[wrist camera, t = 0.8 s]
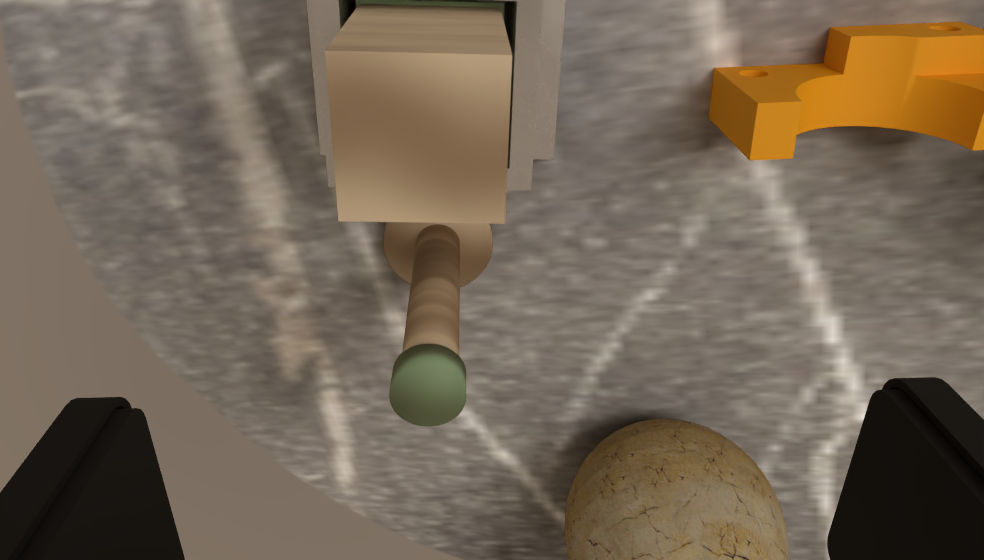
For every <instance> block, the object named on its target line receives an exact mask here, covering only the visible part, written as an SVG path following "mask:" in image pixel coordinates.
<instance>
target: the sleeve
mask: <svg viewBox="0 0 984 560" xmlns="http://www.w3.org/2000/svg"><path fill="white" fill-rule="evenodd" d="M306 1H307V12H308V23H309V34H310V46H311V57H312V68H313V79H314V91H315V102H316V113H317V124H318V136H319V147H320V155H326V167H327V179H328V187H336V184H335V172H334V159H333V147H332V134H331V122H330V109H329V97H328V84H327V72H326V59H325V50H326V48H327V47H328V46H329V44H330V43H331V42H332V40H333V39H334V38H335V36H336V35H337V33H338V32H339V31H340V29H341V28H342V27H343V25H344V24H345V23H346V21H347V20H348V19H349V17H350V16H351V15H352V13H353V12H354V11H355V9H356V0H306ZM496 1H504V24H505V28H506V32H507V36H508V40H509V44H510V48H511V52H512V74H511V97H510V120H509V142H508V165H507V188H506V190H531V185H532V169H533V159H548V160H553V159H554V146H555V133H556V120H557V107H558V94H559V81H560V68H561V55H562V42H563V29H564V16H565V3H566V0H496Z"/></svg>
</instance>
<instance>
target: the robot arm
mask: <svg viewBox="0 0 984 560" xmlns="http://www.w3.org/2000/svg"><path fill="white" fill-rule="evenodd" d="M827 541H828V553H829V557H830V560H984V420H983V419H982V418H981V417H980V416H979V415H978V414H977V413H976V412H975V411H974V410H973V409H972V408H971V407H970V406H969V405H968V404H967V403H966V402H965V401H964V400H963V399H962V398H961V397H960V396H959V395H958V394H957V393H956V392H955V391H954V390H953V389H952V388H951V387H950V386H949V385H948V384H947V383H946V382H945V381H943V380H942V379H939V378H935V377H929V378H894V379H891V380H888V381H887V382H886V383H885V384H884V386H883V388H882V390H878V391H875V392H874V393H873V394H872V397H871V399H870V401H869V405H868V408H867V411H866V414H865V418H864V421H863V424H862V427H861V431H860V434H859V437H858V440H857V444H856V447H855V450H854V453H853V457H852V460H851V463H850V466H849V469H848V473H847V476H846V479H845V482H844V486H843V489H842V492H841V495H840V499H839V502H838V505H837V508H836V512H835V515H834V518H833V521H832V525H831V528H830V531H829V534H828V540H827ZM0 560H185V559H184V554H183V551H182V547H181V543H180V540H179V536H178V532H177V529H176V525H175V522H174V518H173V514H172V511H171V507H170V504H169V500H168V497H167V493H166V489H165V485H164V482H163V478H162V475H161V471H160V468H159V464H158V460H157V457H156V454H155V450H154V446H153V442H152V439H151V435H150V431H149V428H148V424H147V420H146V417H145V415H144V413H143V411H142V410H141V409H137V408H134V409H132V408H131V406H130V403H129V402H128V401H127V400H126V399H125V398H122V397H106V398H76V399H74V400H71V401H70V402H69V403H68V404H67V405H66V406H65V407H64V409H63V410H62V411H61V413H60V414H59V415H58V417H57V418H56V419H55V421H54V422H53V423H52V425H51V426H50V427H49V429H48V430H47V431H46V433H45V434H44V435H43V437H42V438H41V439H40V441H39V442H38V443H37V444H36V446H35V447H34V449H33V450H32V451H31V453H30V454H29V455H28V457H27V458H26V459H25V460H24V462H23V463H22V465H21V466H20V467H19V468H18V470H17V471H16V473H15V474H14V475H13V476H12V478H11V479H10V481H9V482H8V483H7V484H6V486H5V487H4V488H3V490H2V491H1V492H0Z"/></svg>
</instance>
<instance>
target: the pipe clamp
mask: <svg viewBox="0 0 984 560" xmlns="http://www.w3.org/2000/svg"><path fill="white" fill-rule="evenodd" d="M709 119H710V120H711V121H712V122H713V123H714V124H715V125H716V126H717V127H718V128H719V129H720V130H721V131H722V132H723V133H724V134H725V135H726V136H727V137H728V138H729V139H730V141H731V142H732V143H733V144H734V145H735V146H736V147H737V148H738V149H739V150H740V151H741V152H742V153H743V154H744V155H745V156H746V157H747V158H748V159H749V160H768V159H790V158H793V153H794V148H795V142H796V136H797V135H798V134H800V133H803V132H806V131H810V130H814V129H819V128H827V127H837V126H870V127H884V128H893V129H900V130H907V131H913V132H918V133H923V134H927V135H931V136H935V137H939V138H942V139H946V140H949V141H952V142H954V143H957V144H960V145H962V146H964V147H966V148H968V149H970V150H984V29H981V28H978V27H974V26H971V25H968V24H965V23H962V22H943V23H919V24H895V25H872V26H848V27H830V30H829V36H828V41H827V46H826V52H825V57H824V62H823V63H817V64H794V65H771V66H747V67H724V68H714V76H713V85H712V94H711V102H710V111H709Z"/></svg>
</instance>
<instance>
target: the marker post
mask: <svg viewBox="0 0 984 560" xmlns="http://www.w3.org/2000/svg"><path fill="white" fill-rule="evenodd" d="M383 245H384V251H385V255H386V258H387V260H388V262H389V264H390V266H391V267H392V269H393V270H394V271H395V272H396V273H397V274H398V275H399V276H400V277H401V278H402V279H404V280H405V281H406V282H408V283H410V284H411V288H410V296H409V304H408V312H407V320H406V328H405V336H404V344H403V352H402V353H401V354H400V355H399V357H398V358H397V359H396V361H395V363H394V366H393V372H392V379H391V386H390V394H389V397H390V403H391V405H392V407H393V409H394V411H395V412H396V413H397V414H398V415H399V416H400V417H401V418H403V419H404V420H406V421H408V422H410V423H412V424H415V425H420V426H437V425H441V424H444V423H447V422H449V421H451V420H452V419H454V418H455V417H456V416H458V415H459V413H460V412H461V411H462V409H463V407H464V405H465V402H466V369H465V365H464V363H463V361H462V359H461V358H460V357H459V297H460V287H462V286H464V285H466V284H468V283H470V282H471V281H473V280H474V279H475V278H477V277H478V276H479V275H480V274H481V273H482V271H483V270H484V269H485V267H486V266H487V264H488V262H489V259H490V257H491V253H492V247H493V239H492V229H491V224H490V223H422V222H386V226H385V231H384V237H383Z"/></svg>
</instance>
